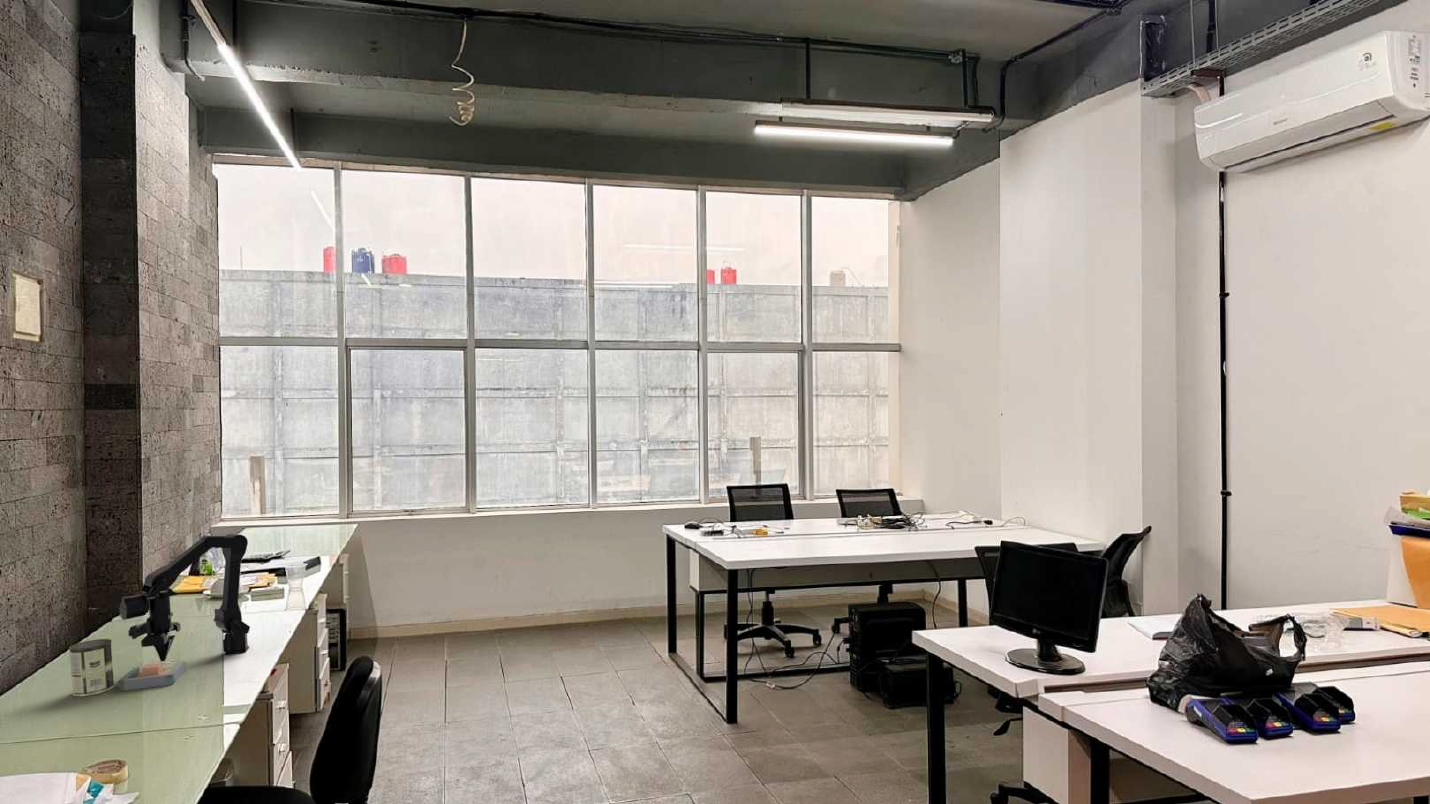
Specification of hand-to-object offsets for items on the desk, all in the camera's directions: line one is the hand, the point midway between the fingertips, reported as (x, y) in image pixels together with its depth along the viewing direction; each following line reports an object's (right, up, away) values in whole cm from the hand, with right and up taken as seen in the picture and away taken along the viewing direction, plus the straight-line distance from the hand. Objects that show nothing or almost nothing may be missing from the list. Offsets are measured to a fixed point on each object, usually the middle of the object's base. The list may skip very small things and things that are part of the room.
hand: (163, 660), depth 277 cm
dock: (+3, -3, -9) cm, 10 cm away
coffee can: (-10, -4, -17) cm, 20 cm away
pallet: (+3, -3, -10) cm, 11 cm away
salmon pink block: (+4, -1, -11) cm, 12 cm away
